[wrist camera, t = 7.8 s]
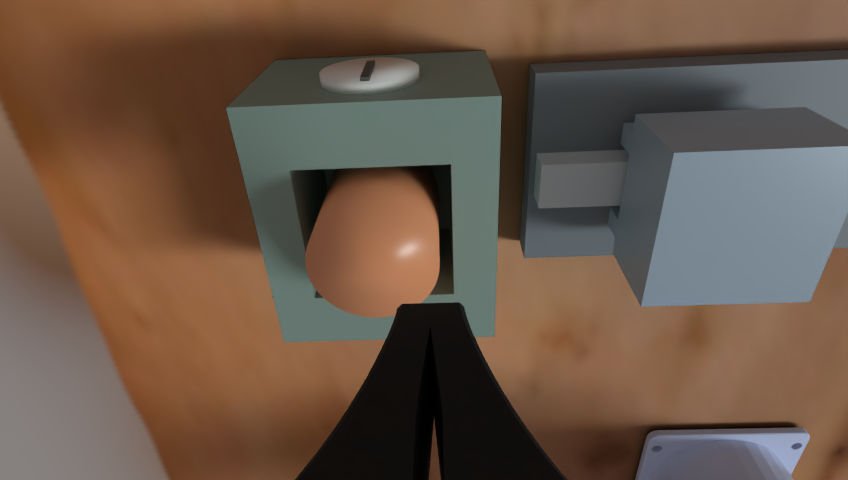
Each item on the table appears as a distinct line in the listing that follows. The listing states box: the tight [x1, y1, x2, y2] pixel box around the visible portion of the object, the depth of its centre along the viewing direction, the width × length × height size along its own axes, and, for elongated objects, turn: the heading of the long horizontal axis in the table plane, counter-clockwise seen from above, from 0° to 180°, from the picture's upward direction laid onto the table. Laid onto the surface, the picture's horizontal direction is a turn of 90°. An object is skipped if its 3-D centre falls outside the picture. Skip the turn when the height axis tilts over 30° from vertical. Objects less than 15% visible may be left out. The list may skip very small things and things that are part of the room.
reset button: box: [305, 165, 440, 318], centre depth 16 cm, size 4×4×4 cm
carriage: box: [608, 107, 848, 307], centre depth 16 cm, size 5×5×4 cm
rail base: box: [520, 49, 848, 258], centre depth 18 cm, size 7×20×2 cm, turn 93°
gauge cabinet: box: [226, 50, 502, 342], centre depth 18 cm, size 8×7×5 cm
